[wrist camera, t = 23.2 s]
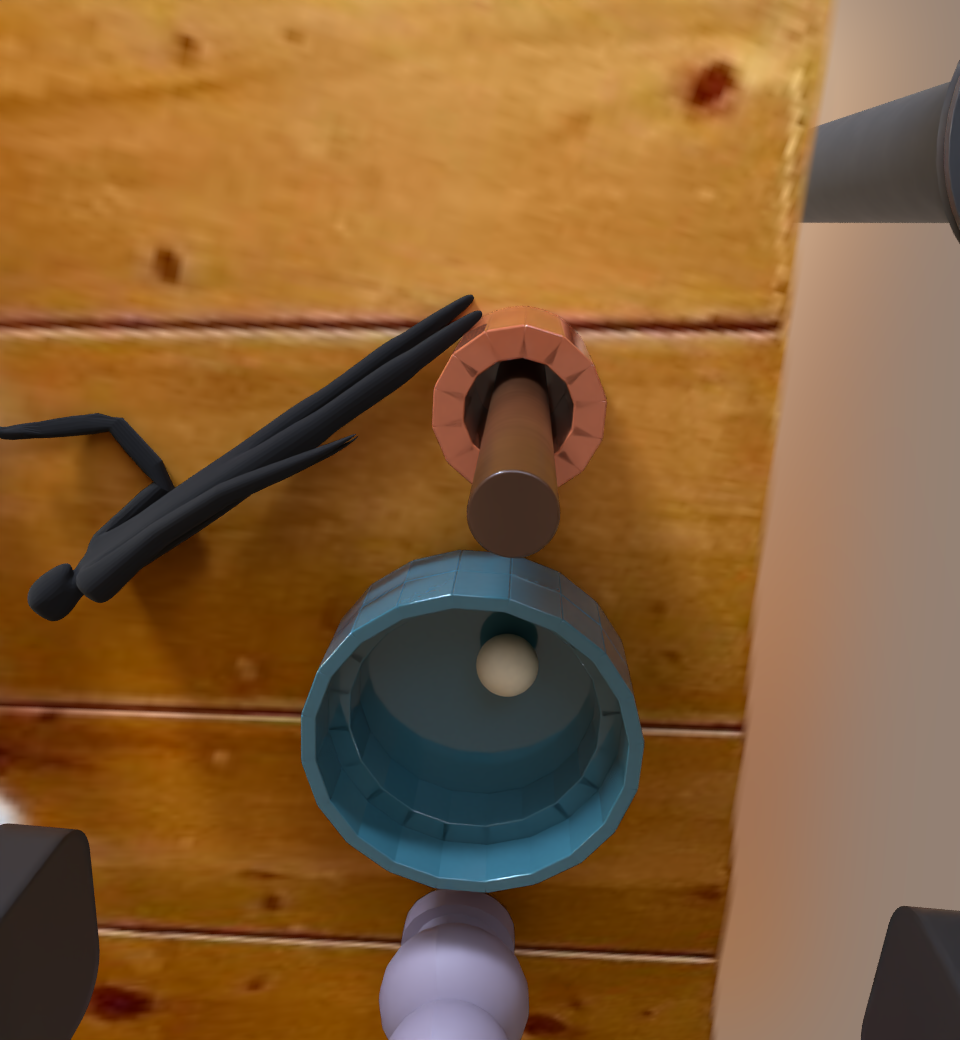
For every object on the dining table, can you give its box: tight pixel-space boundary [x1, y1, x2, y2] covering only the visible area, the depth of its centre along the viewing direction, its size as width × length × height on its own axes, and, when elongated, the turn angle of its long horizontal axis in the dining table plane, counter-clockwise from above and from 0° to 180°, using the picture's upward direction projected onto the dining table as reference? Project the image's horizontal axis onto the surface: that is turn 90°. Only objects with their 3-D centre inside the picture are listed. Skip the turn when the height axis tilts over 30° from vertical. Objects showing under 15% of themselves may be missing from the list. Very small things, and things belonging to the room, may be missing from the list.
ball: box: [476, 634, 538, 697], centre depth 43 cm, size 3×3×3 cm
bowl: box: [301, 550, 644, 893], centre depth 43 cm, size 15×15×6 cm
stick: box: [467, 358, 560, 558], centre depth 30 cm, size 2×2×20 cm
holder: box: [432, 306, 607, 487], centre depth 36 cm, size 6×6×8 cm
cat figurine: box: [379, 889, 529, 1040], centre depth 45 cm, size 8×8×12 cm
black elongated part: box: [0, 295, 482, 621], centre depth 39 cm, size 8×9×25 cm
